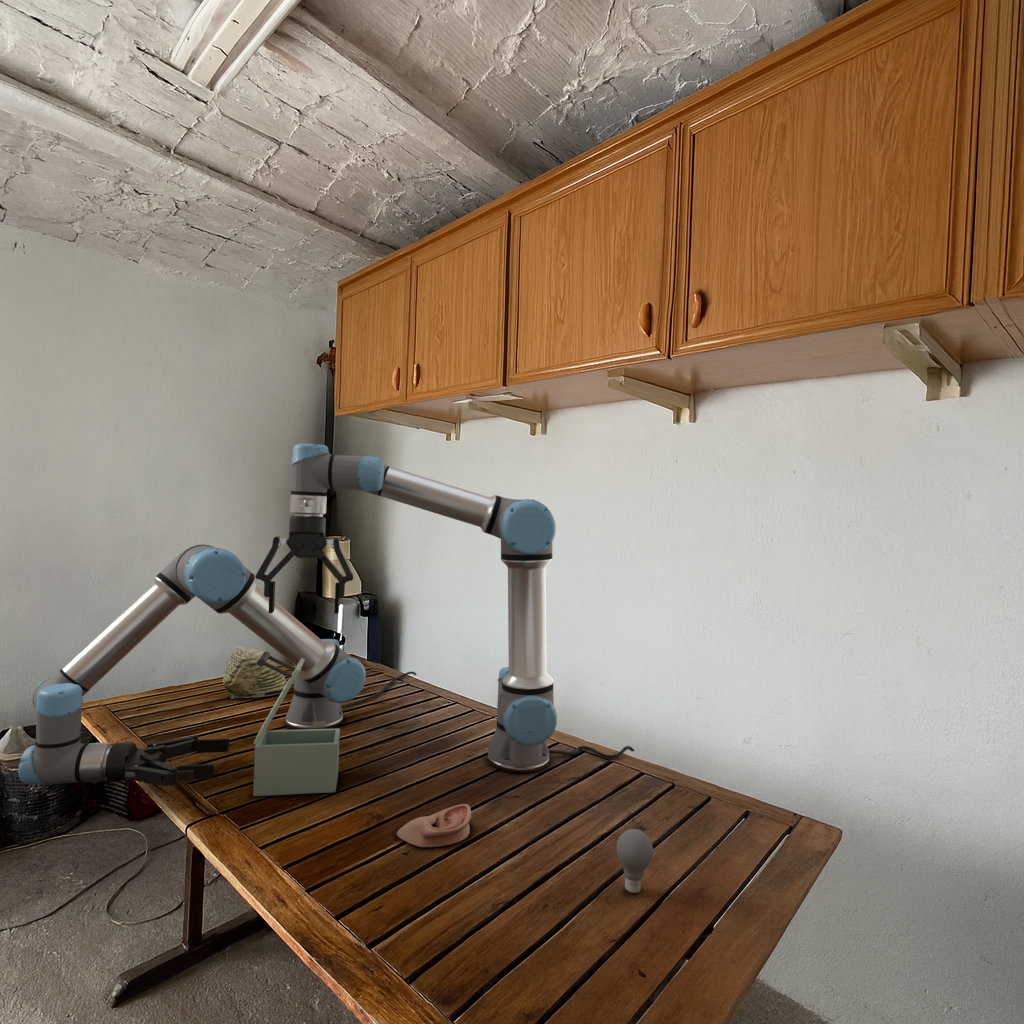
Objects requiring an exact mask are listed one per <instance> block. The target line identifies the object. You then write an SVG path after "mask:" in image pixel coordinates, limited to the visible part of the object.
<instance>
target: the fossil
mask: <svg viewBox="0 0 1024 1024" xmlns="http://www.w3.org/2000/svg"><path fill="white" fill-rule="evenodd" d="M264 652H265V650H264V649H263V648H260V647H258V648H251V647H247V646H246V647H245V646H238V647H237V648H236V649H235V650H233V651H232V653H231V656H230V657H229V659H228V660H227V663H226V666H225V668H224V671H223V675H222V676H223V677H222V685H223V687H224V688H225V690H226V691H228V693H229V698H230V699H250V698H264V697H271V696H275V695H280V694H281V692H282V691H283V689H284V687H285V685H286V684H287V680H286V678H285V677H286V676H285V675H283V674H280V673H278V672H276V671H274V670H272V669H270V668H268V667H266V666H258V665H257V661H258V659H259V658H260V657H261V655H262V654H263V653H264ZM267 663H269V664H271V665H273V666H275V667H277V665H276V663H275V662H273V661H271V660H269V659H268V660H267Z"/></svg>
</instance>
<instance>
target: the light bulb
mask: <svg viewBox="0 0 1024 1024" xmlns="http://www.w3.org/2000/svg"><path fill="white" fill-rule="evenodd" d="M615 849H616V854H617V857H618V859H619V861H620V863H621V865H622V867H623V873H624V874H623V875H624V876H625V878H624V888H625V890H627V891H628V892H630V893H634V894H635V893H639V892H640V891H641V889H642V887H641V886H642V879H643V877H644V875H645V871H646V868H647V867H648V866H649V864H650V863H651V861H652V859H653V855H654V847H653V843H652V841H651V838H649V836H648V835H647V834H646V833H645V832H643V831H642V830H641V829H636V828H629V829H627V830H625V831H623V832H622V833H621V834H620V835H619V837H618V839H617V841H616V847H615Z"/></svg>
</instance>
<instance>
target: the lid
mask: <svg viewBox="0 0 1024 1024" xmlns="http://www.w3.org/2000/svg"><path fill="white" fill-rule="evenodd" d="M268 659H269V660H271V661H273V662H274V663H275V664H278V665H280V666H282V667H283V668H286V669H288V670H290V671H292V672H291V673H290V672H288V671H286V670H284V669H282V668H280V667H277V666H276V667H275V666H273V665H271V664H269V663H267V660H268ZM304 660H305V659H303V658H301V659H300V661H299V663H298V665H297V666H296V668H295V666H292V665H291V664H288V663H287V662H284V661H283V660H280V659H278V658H277V657H274V656H272V655H271V653H270V652H269V651H264V653H263V654H262V655H261V657H260V658H259V659H258V661H257V665H258V666H266V667H268V668H270V669H272V670H274V671H276V672H278V673H280V674H282V675H283V676H284V677H287V678H289V679H288V680H287V681H286V685H285V687H284V689H283V691H282V692H281V693H280V694H279V696H278V698H277V700H276V701H275V702H274V705H273V706H272V708H271V710H270V711H269V713H268V714H267V716H266V718H265V720H264V722H263V724H262V725H261V727H260V729H259V731H258V733H257V735H256V737H255V739H254V741H253V744H254V745H255V746H256V745H257V744H258V743H259V741H260V739H261V738H262V736H263V734H264V732H265V731H267V729H268V727H269V726H270V724H271V722H272V720H273V719H274V717H275V715H276V713H277V712H278V710H279V708H280V706H281V705H282V703H283V701H284V699H285V697H286V696H287V694H288V692H289V690H290V689H291V687H292V685H294V680H295V678H296V677H297V675H298V673H299V671H300V669H301V667H302V665H303V663H304Z"/></svg>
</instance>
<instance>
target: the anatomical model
mask: <svg viewBox="0 0 1024 1024" xmlns="http://www.w3.org/2000/svg"><path fill="white" fill-rule="evenodd" d="M471 819H472V809H471V806H470V805H469V804H468V803H462V804H461V803H460V804H456V805H452V806H450V807H447V808H445V809H442V810H439V811H437V812H436V813H433V814H431V815H428V816H426V815H425V816H420V817H417V818H414V819H412V820H410V821H408V822H407V823H405V824H404V825H402V826H401V827H400V828H399V829H398V830H397V832H396V836H397V837H398V838H399V839H401V840H402V841H403V842H406V843H408V844H409V845H413V846H415V847H419V848H435V847H442V846H443V847H444V846H448V845H449V846H450V845H453V844H456V843H458V842H461V841H463V840H465V839H466V838H468V836H469V835H470V832H471V831H470V830H471V829H470V828H471V827H470V824H469V823H470V821H471Z"/></svg>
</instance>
